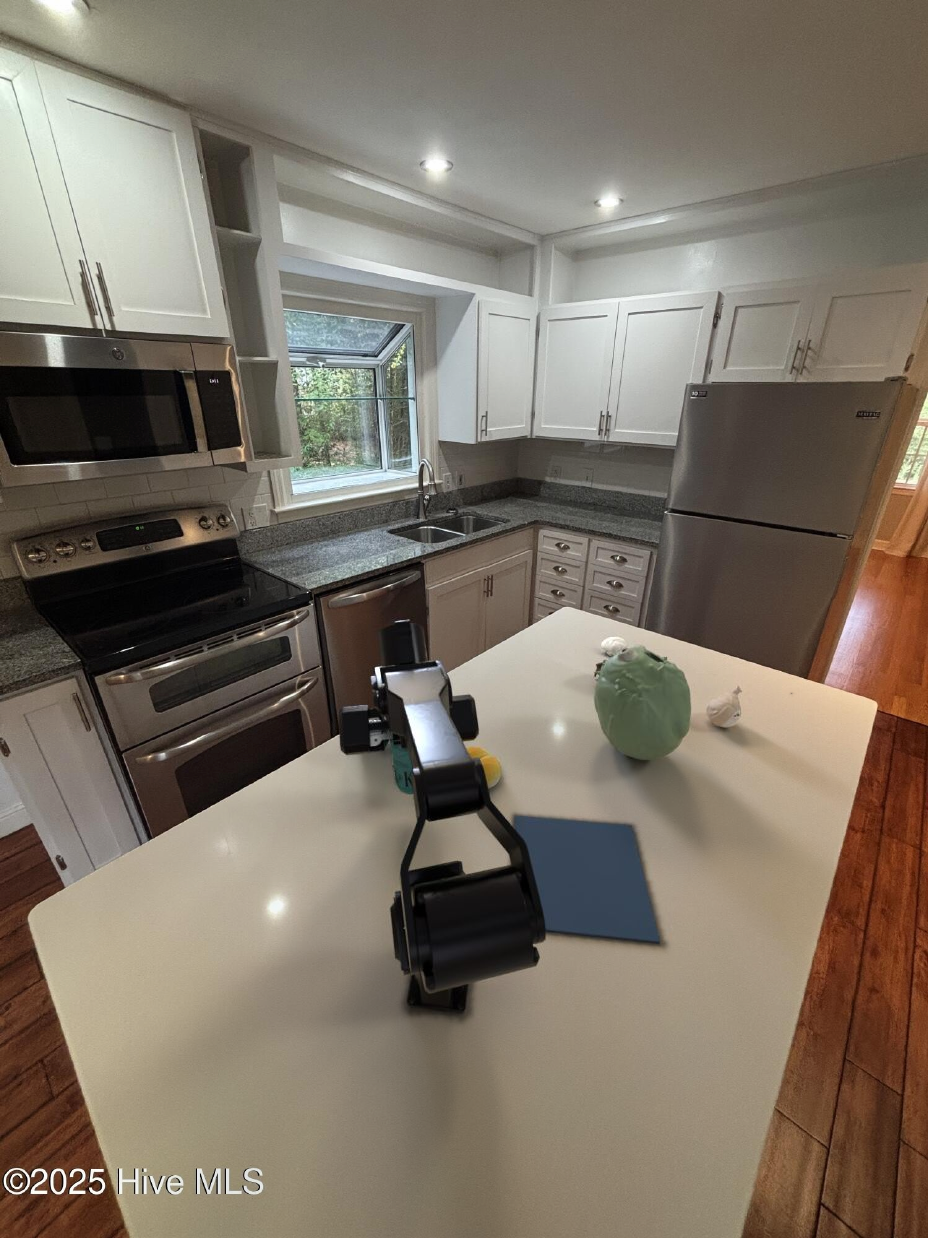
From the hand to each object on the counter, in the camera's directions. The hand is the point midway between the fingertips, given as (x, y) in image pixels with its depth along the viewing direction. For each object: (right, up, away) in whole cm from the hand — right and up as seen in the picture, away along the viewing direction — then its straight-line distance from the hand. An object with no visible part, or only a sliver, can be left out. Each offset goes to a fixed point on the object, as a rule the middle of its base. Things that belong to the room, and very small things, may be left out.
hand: (408, 733), depth 76 cm
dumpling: (+47, +9, +52) cm, 70 cm away
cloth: (+25, -18, -7) cm, 31 cm away
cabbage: (+41, -7, +17) cm, 45 cm away
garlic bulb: (+61, -4, +24) cm, 65 cm away
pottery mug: (+44, +2, +36) cm, 57 cm away
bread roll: (+11, -10, +11) cm, 18 cm away
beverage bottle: (+1, -10, +3) cm, 10 cm away
